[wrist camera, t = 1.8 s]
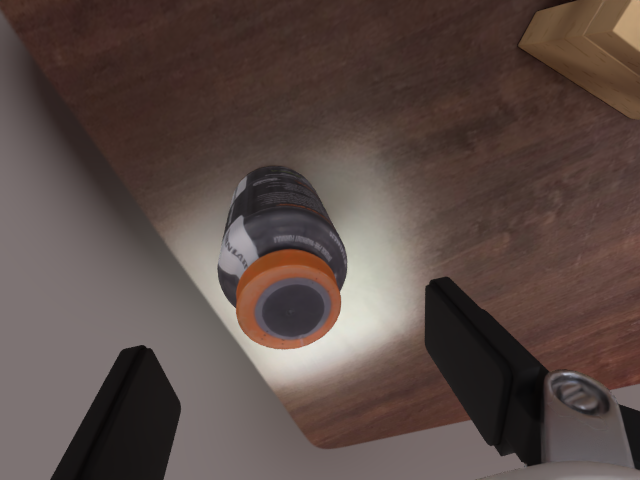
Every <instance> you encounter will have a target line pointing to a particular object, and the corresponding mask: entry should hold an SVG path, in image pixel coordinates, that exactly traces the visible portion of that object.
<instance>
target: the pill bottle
mask: <svg viewBox="0 0 640 480" xmlns="http://www.w3.org/2000/svg"><path fill="white" fill-rule="evenodd" d="M346 273H347V256H346V251H345V247H344V245H343V243H342V241H341V238H340V236H339V234H338V233H337V231H336V229H335V227H334V225H333V223H332V221H331V220H330V218H329V216H328V214H327V212H326V210H325V208H324V206H323V204H322V202H321V200H320V198H319V197H318V195H317V193H316V191H315V189H314V188H313V187H312V185H311V184H310V183H309V181H308V180H307V179H306V178H305V177H304V176H302V175H301V174H299V173H298V172H296V171H294V170H292V169H289V168H286V167H282V166H278V167H276V166H269V167H264V168H260V169H257V170H255V171H253V172H251V173H250V174H248V175H247V176H246V177H245V178H244V179H243V180H242V181H241V182H240V183H239V184H238V186H237V187H236V189H235V191H234V194H233V197H232V201H231V205H230V210H229V213H228V218H227V223H226V227H225V232H224V236H223V240H222V246H221V251H220V255H219V261H218V278H219V282H220V285H221V288H222V290H223V292H224V294H225V296H226V298H227V299H228V300H229V302H230V303H231V304H232V305H233V306H234V307H235V308H236V315H237V319H238V323H239V325H240V327H241V329H242V330H243V332H244V333H245V334H246V335H247V336H248V337H249V338H250V339H251V340H253V341H254V342H256V343H258V344H260V345H263V346H266V347H269V348H274V349H295V348H300V347H303V346H306V345H309V344H311V343H313V342H315V341H316V340H318V339H320V338H321V337H323V336H324V335H325V334H326V333H327V332H328V331H329V330H330V329H331V328H332V327H333V325H334V324H335V322H336V321H337V318H338V316H339V313H340V309H341V295H340V290H341V289H342V286H343V284H344V281H345V278H346Z"/></svg>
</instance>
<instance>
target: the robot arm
mask: <svg viewBox="0 0 640 480" xmlns="http://www.w3.org/2000/svg"><path fill="white" fill-rule="evenodd" d="M425 346H426V349H427V351H428V353H429V354H430V356H431V358H432V359H433V361H434V362H435V364H436V365H437V367H438V368H439V370H440V372H441V373H442V375H443V376H444V378H445V379H446V381H447V382H448V384H449V386H450V387H451V389H452V390H453V392H454V393H455V395H456V396H457V398H458V400H459V401H460V403H461V404H462V406H463V407H464V409H465V410H466V412H467V414H468V415H469V417H470V418H471V420H472V421H473V423H474V424H475V426H476V427H477V429H478V431H479V432H480V434H481V435H482V437H483V438H484V440H485V441H486V443H487V444H488V445H490V446H492V445H494V446H495V448H496V449H497V451H498V452H499V454H500V455H501V456H505V455H508V454H512V453H516V455H517V456H518V457H519V459H520V460H521V462H524V468H519V469H515V470H511V471H507V472H503V473H499V474H496V475H492V476H488V477H484V478H480V479H476V480H640V411H637V410H634V409H632V408H629V407H626V406H623V405H620V404H618V402H617V400H616V398H615V396H614V395H613V394H612V393H611V392H610V391H609V389H608V388H606V387H605V386H604V385H603V384H601V383H600V382H599V381H597V380H595V379H593V378H592V377H590V376H588V375H585V374H583V373H580V372H577V371H572V370H566V369H563V370H555V371H552V372H549V371H548V370H547V369H546V368H545V367H544V366H543V365H542V364H541V363H540V362H539V361H538V360H537V359H536V358H535V357H534V356H532V355H531V354H530V353H529V352H528V351H527V350H526V349H525V348H524V347H523V346H522V345H521V344H520V343H519V342H518V341H517V340H516V339H515V338H514V337H513V336H512V335H511V334H510V333H509V332H508V331H507V330H506V329H505V328H503V327H502V326H501V325H500V324H499V323H498V322H497V321H496V320H495V319H494V318H493V317H492V316H491V315H490V314H489V313H488V312H487V311H485V310H484V309H481V308H480V307H479V306H478V305H477V304H476V303H475V302H474V301H473V300H472V299H471V298H470V297H469V296H468V295H467V294H465V293H464V292H463V291H462V290H461V289H460V288H459V287H458V286H457V285H456V284H455V283H454V282H453V281H452V280H451V279H450V278H449V277H442V278H438V279H433V280H431V281H430V283H429V285H427V286H426V288H425ZM180 412H181V405H180V401H179V399H178V397H177V396H176V394H175V392H174V390H173V388H172V386H171V384H170V382H169V380H168V379H167V377H166V375H165V373H164V371H163V369H162V367H161V365H160V363H159V361H158V360H157V358H156V356H155V354H154V352H153V350H152V349H151V348H146V347H145V346H144V345H140V346H136V347H131V348H126V349H123V350H122V351H121V352H120V354H119V356H118V357H117V359H116V361H115V363H114V365H113V367H112V368H111V370H110V372H109V374H108V376H107V377H106V379H105V381H104V383H103V385H102V387H101V388H100V390H99V392H98V394H97V396H96V397H95V399H94V401H93V403H92V405H91V407H90V409H89V410H88V412H87V414H86V416H85V417H84V419H83V421H82V423H81V425H80V427H79V428H78V430H77V432H76V434H75V436H74V437H73V439H72V441H71V443H70V445H69V447H68V448H67V450H66V452H65V454H64V456H63V457H62V459H61V461H60V463H59V465H58V467H57V468H56V471H55V472H54V474H53V476H52V478H51V479H50V480H163V479H164V475H165V471H166V467H167V464H168V460H169V456H170V452H171V448H172V444H173V440H174V436H175V433H176V429H177V425H178V421H179V416H180Z"/></svg>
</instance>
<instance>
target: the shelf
mask: <svg viewBox="0 0 640 480" xmlns="http://www.w3.org/2000/svg"><path fill="white" fill-rule="evenodd" d="M518 47H520V48H521V49H523V50H525V51H526V52H528V53H529V54H531V55H532V56H534V57H535V58H537V59H539V60H540V61H542V62H543V63H545V64H546V65H548V66H549V67H551V68H553V69H554V70H556V71H557V72H559V73H560V74H562V75H563V76H565V77H567V78H568V79H570V80H571V81H573V82H574V83H576V84H577V85H579V86H581V87H582V88H584V89H585V90H587V91H588V92H590V93H591V94H593V95H595V96H596V97H598V98H599V99H601V100H602V101H604V102H605V103H607V104H609V105H610V106H612V107H613V108H615V109H616V110H618V111H619V112H621V113H623V114H624V115H626V116H627V117H629V118H630V119H640V0H577V1H573V2H569V3H566V4H562V5H559V6H555V7H551V8H548V9H544V10H540V11H537V12H536V13H535V15H534V17H533V19H532V21H531V22H530V24H529V26H528V28H527V30H526V32H525V33H524V35H523V37H522V39H521V41H520V43H519V44H518Z"/></svg>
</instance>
